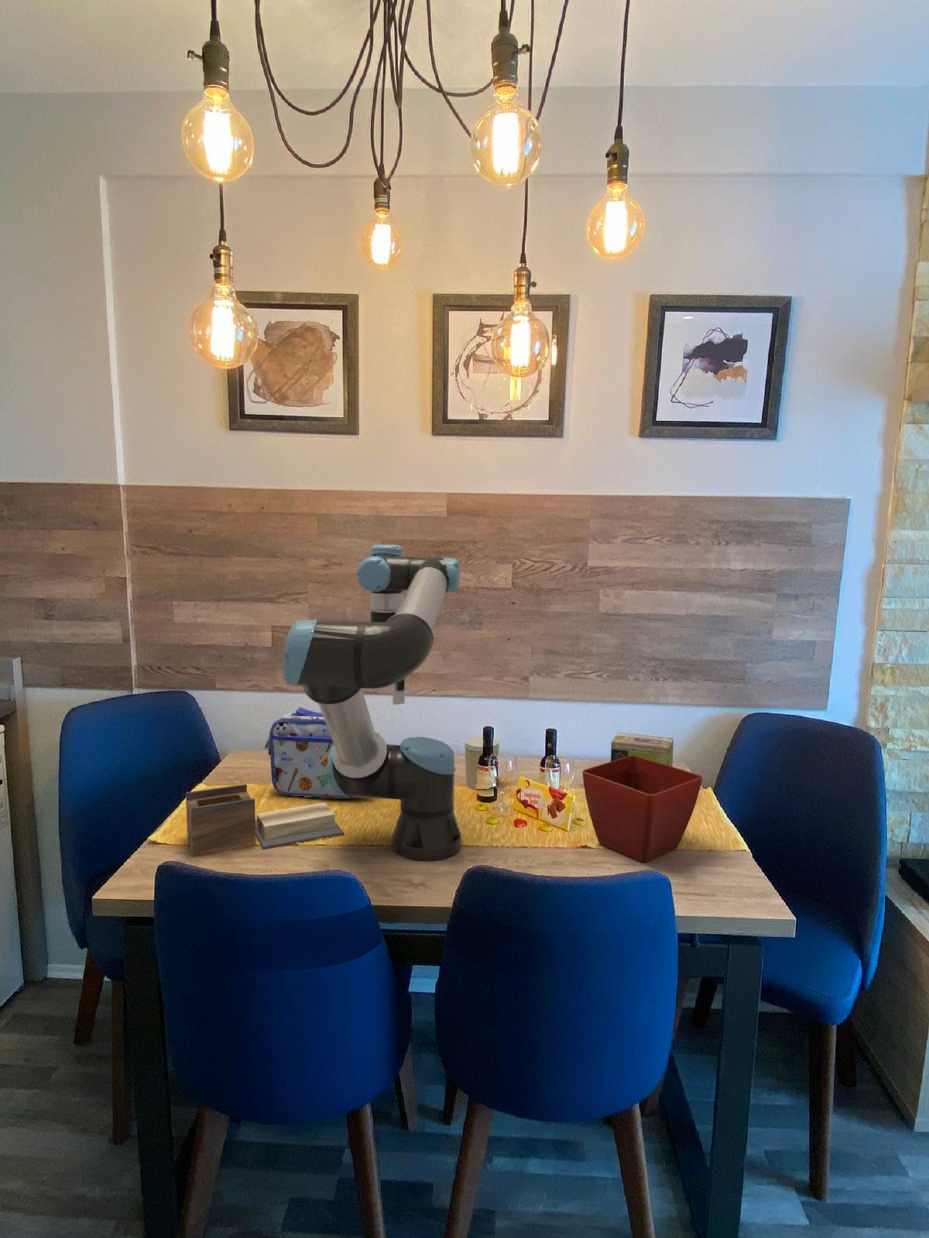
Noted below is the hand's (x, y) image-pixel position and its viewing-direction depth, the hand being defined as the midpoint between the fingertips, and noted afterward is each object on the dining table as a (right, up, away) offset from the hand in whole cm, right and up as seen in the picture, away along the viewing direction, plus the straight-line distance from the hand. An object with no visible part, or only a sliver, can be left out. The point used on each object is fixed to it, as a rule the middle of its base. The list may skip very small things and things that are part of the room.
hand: (386, 697), depth 182 cm
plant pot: (+57, -32, -14) cm, 67 cm away
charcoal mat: (-20, -29, -9) cm, 36 cm away
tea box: (+65, -27, +17) cm, 73 cm away
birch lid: (-20, -29, -9) cm, 36 cm away
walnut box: (-35, -30, -16) cm, 49 cm away
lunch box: (-18, -26, +13) cm, 35 cm away
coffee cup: (+23, -26, +21) cm, 41 cm away
